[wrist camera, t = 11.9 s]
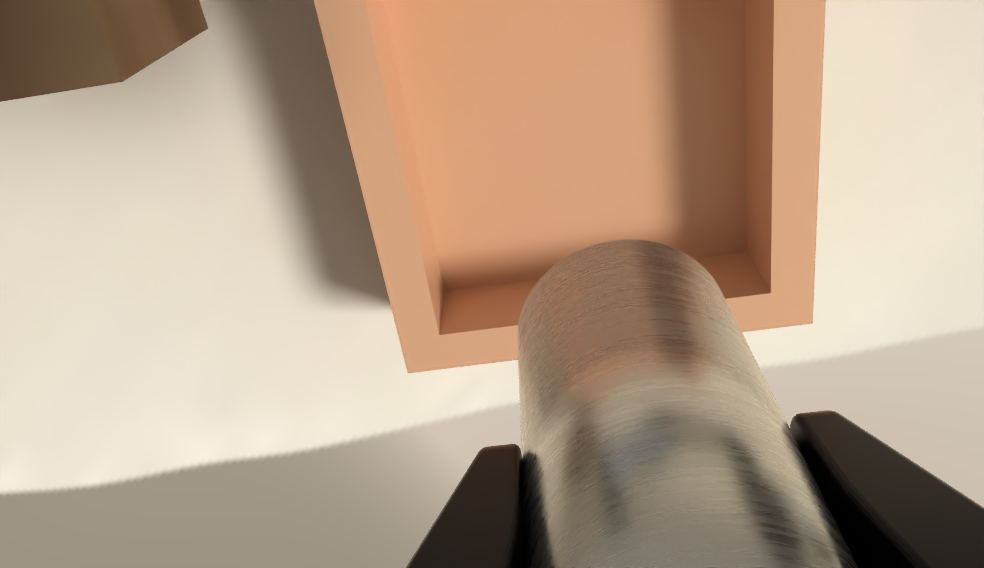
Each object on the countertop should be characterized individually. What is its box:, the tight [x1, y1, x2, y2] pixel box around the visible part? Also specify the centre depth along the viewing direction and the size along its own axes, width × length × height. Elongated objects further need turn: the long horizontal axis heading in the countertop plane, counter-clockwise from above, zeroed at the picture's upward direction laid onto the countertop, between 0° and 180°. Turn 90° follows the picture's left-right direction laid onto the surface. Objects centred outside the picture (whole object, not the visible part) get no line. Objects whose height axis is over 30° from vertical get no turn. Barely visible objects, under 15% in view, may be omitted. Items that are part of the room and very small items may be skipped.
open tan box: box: [314, 0, 826, 373], centre depth 19 cm, size 10×10×3 cm
